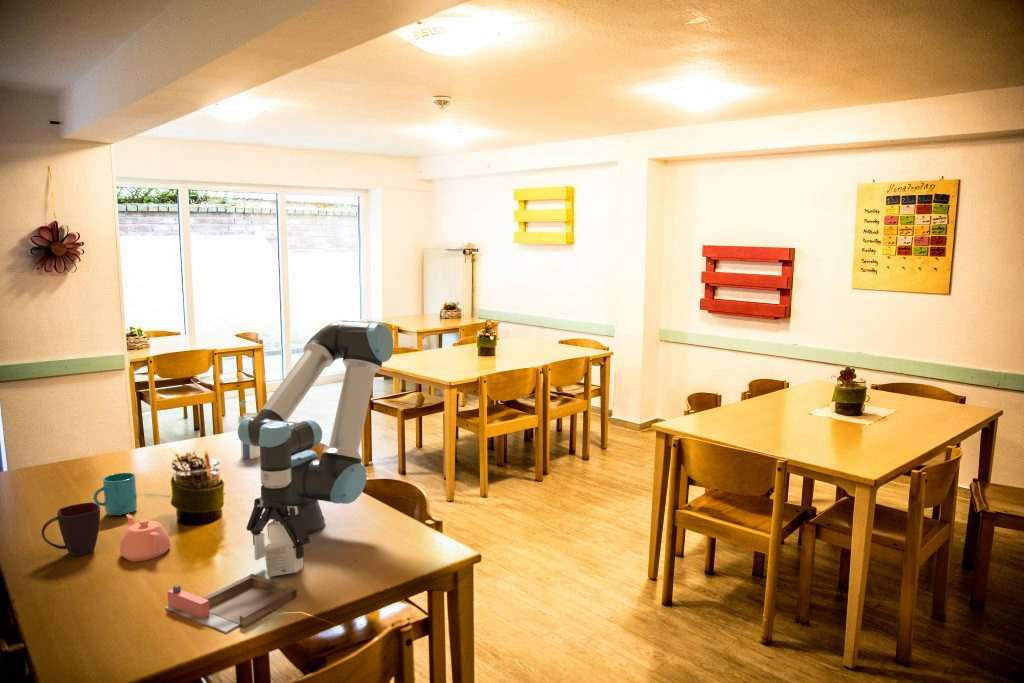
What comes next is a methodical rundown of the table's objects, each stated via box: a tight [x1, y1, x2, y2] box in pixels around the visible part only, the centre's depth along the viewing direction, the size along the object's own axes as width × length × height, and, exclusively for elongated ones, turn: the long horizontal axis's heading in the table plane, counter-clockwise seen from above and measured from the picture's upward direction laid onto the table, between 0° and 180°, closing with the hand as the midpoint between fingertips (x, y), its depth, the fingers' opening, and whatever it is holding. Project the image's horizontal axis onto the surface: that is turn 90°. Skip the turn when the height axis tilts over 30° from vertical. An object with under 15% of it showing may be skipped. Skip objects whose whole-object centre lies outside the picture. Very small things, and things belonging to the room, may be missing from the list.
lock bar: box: [167, 584, 210, 619], centre depth 164 cm, size 12×2×5 cm, turn 61°
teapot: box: [119, 513, 171, 563], centre depth 195 cm, size 12×18×10 cm
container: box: [264, 520, 304, 578], centre depth 183 cm, size 8×8×13 cm
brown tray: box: [164, 573, 298, 634], centre depth 168 cm, size 23×19×2 cm
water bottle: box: [237, 399, 260, 460], centre depth 274 cm, size 8×9×25 cm
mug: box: [41, 502, 101, 557], centre depth 194 cm, size 10×14×12 cm
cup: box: [92, 472, 138, 516], centre depth 224 cm, size 9×12×11 cm
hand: (278, 563), depth 182 cm, fingers open, 13 cm apart
